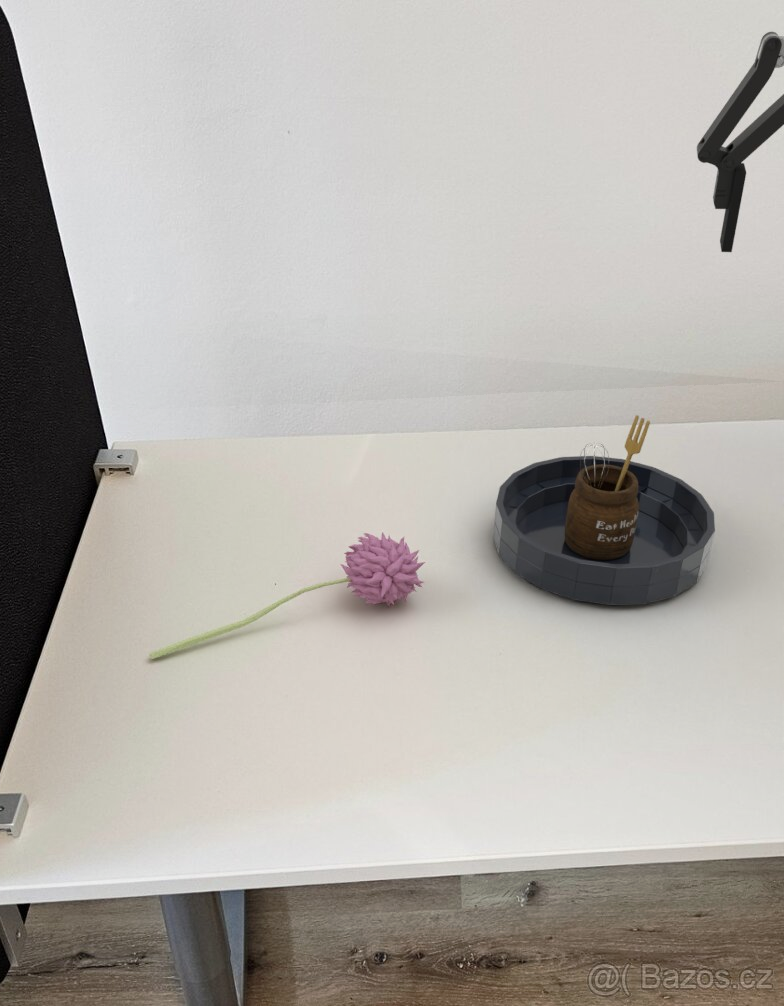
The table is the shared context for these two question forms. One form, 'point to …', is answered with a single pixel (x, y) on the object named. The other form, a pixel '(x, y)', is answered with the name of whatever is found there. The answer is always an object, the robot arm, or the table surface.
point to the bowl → (623, 581)
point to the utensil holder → (605, 505)
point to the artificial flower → (372, 571)
